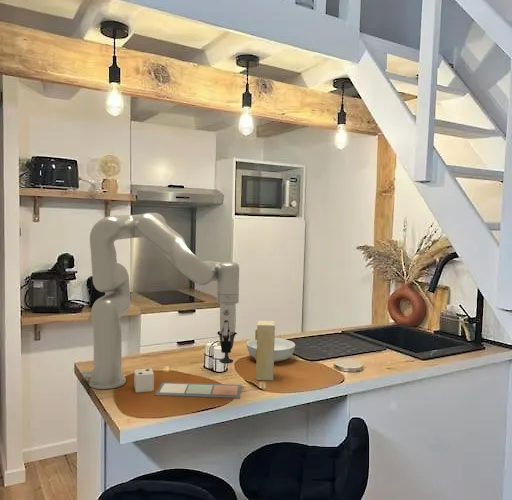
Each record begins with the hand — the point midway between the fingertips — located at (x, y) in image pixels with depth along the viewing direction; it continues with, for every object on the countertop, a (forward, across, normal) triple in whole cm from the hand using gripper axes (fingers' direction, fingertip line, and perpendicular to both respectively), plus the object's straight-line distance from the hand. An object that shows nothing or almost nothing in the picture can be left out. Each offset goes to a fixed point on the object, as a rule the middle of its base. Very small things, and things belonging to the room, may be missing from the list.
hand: (226, 349), depth 167 cm
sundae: (+4, 0, 0) cm, 4 cm away
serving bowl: (+15, +39, -16) cm, 45 cm away
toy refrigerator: (+15, +16, -13) cm, 26 cm away
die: (+15, 0, +29) cm, 32 cm away
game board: (+15, 0, +9) cm, 17 cm away
